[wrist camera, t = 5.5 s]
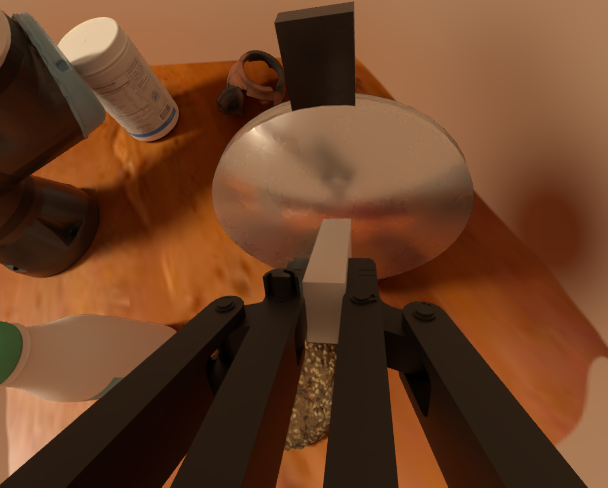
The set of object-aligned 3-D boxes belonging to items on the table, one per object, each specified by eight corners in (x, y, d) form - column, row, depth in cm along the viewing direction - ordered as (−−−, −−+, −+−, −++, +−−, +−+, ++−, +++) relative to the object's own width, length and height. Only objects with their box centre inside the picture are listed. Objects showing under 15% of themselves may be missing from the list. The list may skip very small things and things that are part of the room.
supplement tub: (129, 115, 55) (53, 34, 41) (176, 94, 55) (114, 5, 41) (135, 153, 51) (53, 75, 37) (186, 129, 51) (122, 44, 37)
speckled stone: (376, 399, 32) (379, 406, 28) (279, 464, 32) (266, 482, 27) (314, 299, 37) (308, 291, 33) (229, 354, 37) (211, 353, 32)
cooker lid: (127, 35, 13) (115, 47, 13) (561, -32, 10) (576, -20, 10) (256, 269, 30) (253, 280, 29) (438, 271, 27) (440, 283, 26)
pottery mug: (248, 76, 54) (257, 34, 46) (287, 113, 55) (303, 78, 47) (199, 109, 48) (201, 69, 41) (243, 150, 49) (253, 117, 42)
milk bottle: (143, 320, 40) (-42, 288, 22) (194, 331, 38) (39, 307, 20) (121, 382, 38) (-109, 405, 19) (174, 397, 36) (-24, 439, 17)
